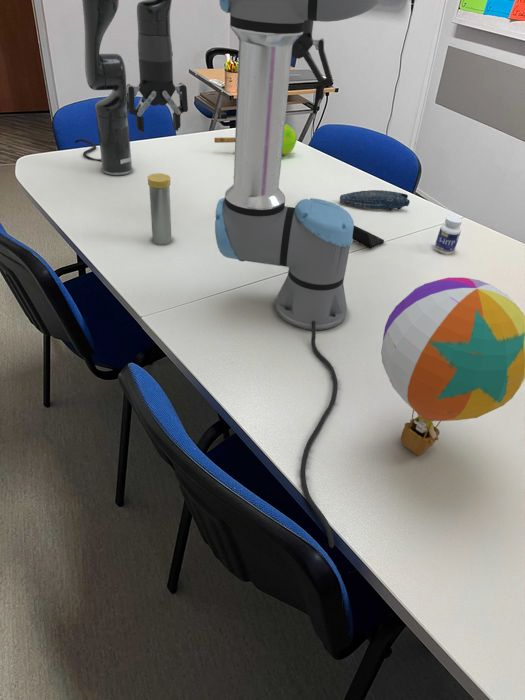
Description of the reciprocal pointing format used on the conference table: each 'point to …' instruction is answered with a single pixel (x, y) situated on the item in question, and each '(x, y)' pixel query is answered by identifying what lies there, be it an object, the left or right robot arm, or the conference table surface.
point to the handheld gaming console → (366, 238)
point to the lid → (159, 180)
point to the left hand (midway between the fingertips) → (158, 130)
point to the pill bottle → (448, 235)
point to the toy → (453, 354)
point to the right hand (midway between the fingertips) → (288, 109)
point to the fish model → (376, 199)
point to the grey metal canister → (160, 215)
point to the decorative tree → (288, 139)
